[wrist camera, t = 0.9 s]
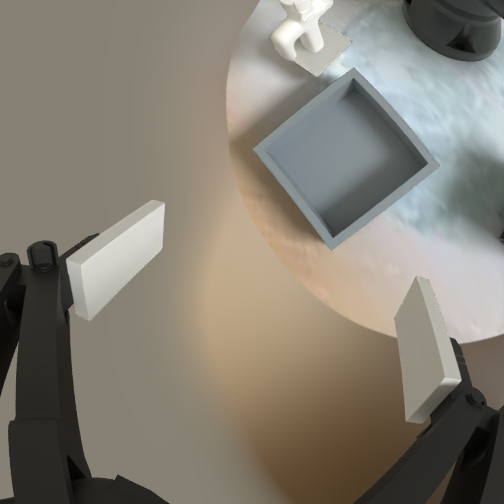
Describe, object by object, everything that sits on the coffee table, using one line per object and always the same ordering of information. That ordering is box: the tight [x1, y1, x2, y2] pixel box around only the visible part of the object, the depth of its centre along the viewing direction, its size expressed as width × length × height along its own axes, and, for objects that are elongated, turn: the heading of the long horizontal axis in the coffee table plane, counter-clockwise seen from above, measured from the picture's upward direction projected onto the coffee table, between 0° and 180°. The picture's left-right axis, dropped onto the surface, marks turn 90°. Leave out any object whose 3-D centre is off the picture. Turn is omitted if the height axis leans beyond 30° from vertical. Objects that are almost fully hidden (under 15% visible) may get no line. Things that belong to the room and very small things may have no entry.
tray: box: [253, 68, 440, 251], centre depth 36 cm, size 16×15×5 cm
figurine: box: [271, 0, 353, 77], centre depth 30 cm, size 7×9×15 cm
